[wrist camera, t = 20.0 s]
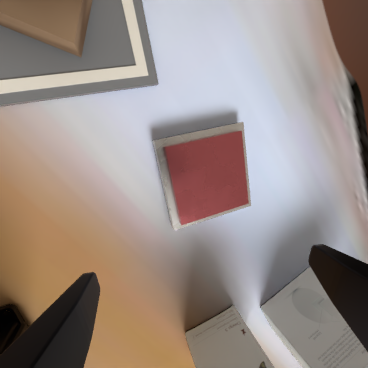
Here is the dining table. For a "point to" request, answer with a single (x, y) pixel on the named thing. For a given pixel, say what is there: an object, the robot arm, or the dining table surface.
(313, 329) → the skincare box
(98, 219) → the dining table surface
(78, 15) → the walnut stamp
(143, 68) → the marked board
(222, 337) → the supplement box
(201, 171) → the ink pad
